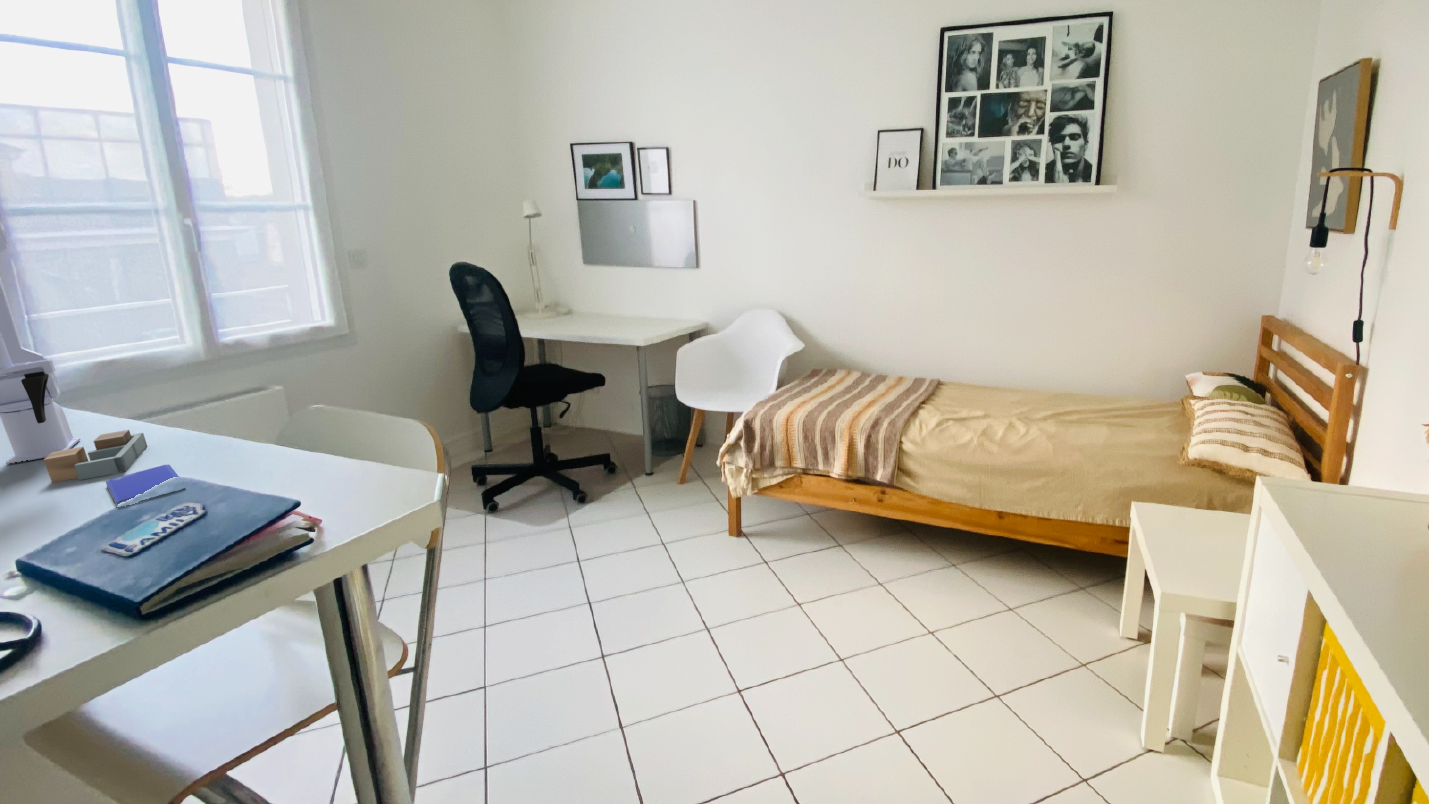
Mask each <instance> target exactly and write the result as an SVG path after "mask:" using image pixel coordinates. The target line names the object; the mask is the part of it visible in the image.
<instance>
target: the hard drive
mask: <svg viewBox="0 0 1429 804" xmlns="http://www.w3.org/2000/svg"><path fill="white" fill-rule="evenodd" d="M173 477H179V478H180V476H179V475H178V474H177V473H176V471H175V469H173V467H172V465H170V464H162V465H159V466H155V467H151V468H148V469H144V470H141V471H136V472H133V473H129V474H124V475H121V476H117V477H114V478H111V479H108V480H107V481H106V482H105V483H106V484H105V485H106V487H107V489H108V491H109V493H110V495H111V497H112V499H113V502H114V503H115V505H116V506H117V505H118V504H120V503H122V502H126V501H127V500H129V499H131V498H134V497H135V496H136V495H138V494H143V493H144V492H145V491H147V490H149V489H151V488H152V487H154V486H155V485H159V484H160V483H162V482H164V481H166V480H168V479H170V478H173Z"/></svg>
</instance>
